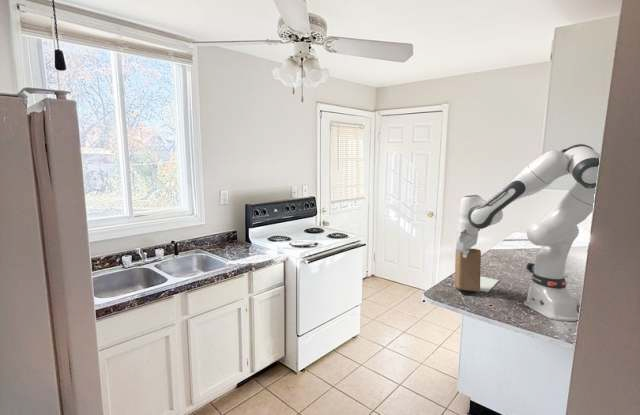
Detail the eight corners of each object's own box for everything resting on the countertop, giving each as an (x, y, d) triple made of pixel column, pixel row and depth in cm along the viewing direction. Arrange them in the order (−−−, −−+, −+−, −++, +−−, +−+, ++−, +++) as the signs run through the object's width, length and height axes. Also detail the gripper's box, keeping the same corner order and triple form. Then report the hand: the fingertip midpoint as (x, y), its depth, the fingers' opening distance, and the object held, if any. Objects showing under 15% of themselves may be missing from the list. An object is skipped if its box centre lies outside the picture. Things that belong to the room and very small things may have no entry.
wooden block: (480, 291, 161) (481, 249, 162) (458, 290, 163) (459, 248, 164) (475, 288, 170) (476, 248, 171) (454, 286, 172) (455, 247, 173)
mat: (487, 292, 166) (487, 291, 166) (454, 284, 176) (454, 284, 176) (498, 280, 182) (499, 280, 182) (468, 274, 193) (468, 273, 193)
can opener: (525, 272, 197) (526, 263, 197) (526, 269, 203) (527, 260, 202) (562, 278, 187) (563, 269, 186) (562, 275, 193) (563, 265, 192)
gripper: (468, 233, 150) (465, 263, 152) (481, 226, 165) (478, 254, 167) (453, 231, 154) (451, 260, 156) (467, 224, 169) (465, 251, 171)
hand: (465, 257), depth 161 cm, fingers closed
